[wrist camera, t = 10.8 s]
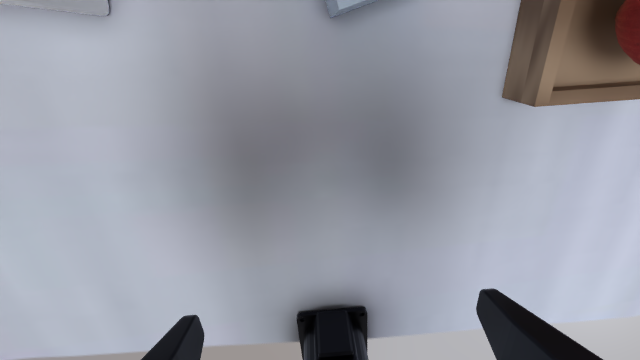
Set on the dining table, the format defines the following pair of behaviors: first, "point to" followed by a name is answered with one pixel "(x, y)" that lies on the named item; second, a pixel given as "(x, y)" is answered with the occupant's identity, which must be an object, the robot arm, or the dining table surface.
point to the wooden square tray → (569, 55)
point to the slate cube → (344, 6)
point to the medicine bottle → (65, 5)
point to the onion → (629, 28)
